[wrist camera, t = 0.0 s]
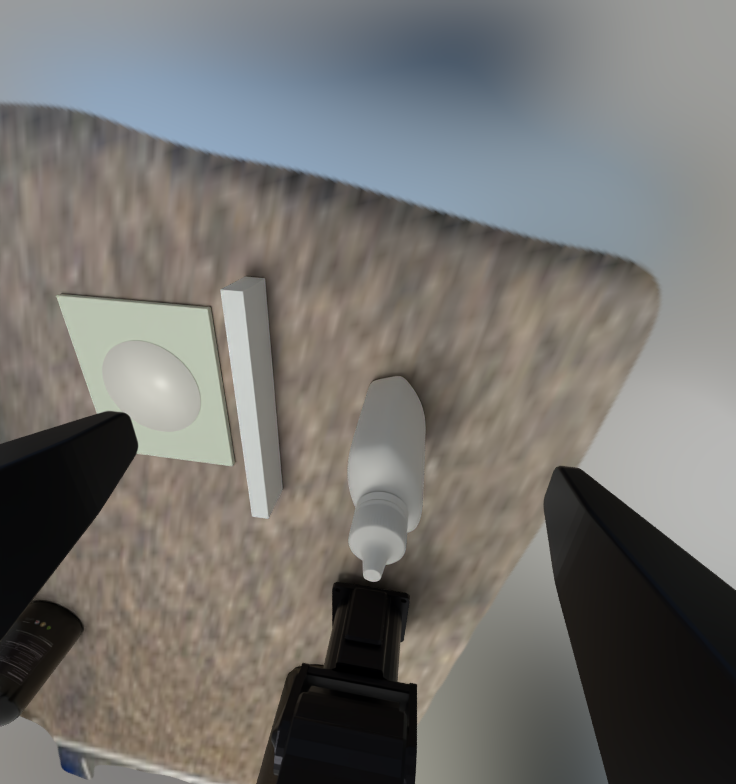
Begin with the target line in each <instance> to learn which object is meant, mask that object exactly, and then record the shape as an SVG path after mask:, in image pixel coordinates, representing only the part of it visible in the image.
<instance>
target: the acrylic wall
mask: <svg viewBox="0 0 736 784" xmlns="http://www.w3.org/2000/svg"><path fill="white" fill-rule="evenodd" d="M220 291H221V298H222V305H223V312H224V319H225V326H226V333H227V340H228V348H229V355H230V362H231V369H232V376H233V383H234V390H235V397H236V405H237V412H238V419H239V426H240V433H241V440H242V447H243V454H244V462H245V469H246V476H247V483H248V490H249V497H250V504H251V511H252V516H253V517H259V518H266V519H269V517H270V515H271V513H272V511H273V509H274V507H275V505H276V502H277V500H278V498H279V496H280V494H281V492H282V490H283V485H282V473H281V462H280V450H279V438H278V426H277V414H276V402H275V390H274V378H273V367H272V355H271V343H270V331H269V319H268V307H267V295H266V283H265V278H257V277H243V278H241V279H240V280H238V281H236V282H234V283H232V284H230V285H228V286H226V287H224V288H223V289H221V290H220Z"/></svg>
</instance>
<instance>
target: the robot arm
mask: <svg viewBox="0 0 736 784" xmlns="http://www.w3.org/2000/svg"><path fill="white" fill-rule="evenodd" d="M137 451H138V440H137V437H136V434H135V430H134V427H133V424H132V420H131V418H130V416H129V415H128V414H126V413H124V412H116V411H105V412H101V413H98V414H95V415H92V416H89V417H85V418H82V419H79V420H76V421H73V422H69V423H66V424H63V425H60V426H56V427H53V428H50V429H47V430H44V431H40V432H37V433H34V434H31V435H28V436H24V437H21V438H18V439H15V440H12V441H8V442H5V443H2V444H0V641H1V640H2V639H3V638H4V636H5V635H6V634H7V632H8V631H9V630H10V628H11V627H12V626H13V625H14V623H15V622H16V621H17V619H18V618H19V617H20V615H21V614H22V613H23V612H24V610H25V609H26V608H27V606H28V605H29V604H30V602H31V601H32V600H33V599H34V597H35V596H36V595H37V593H38V592H39V591H40V589H41V588H42V587H43V586H44V584H45V583H46V582H47V580H48V579H49V578H50V576H51V575H52V574H53V573H54V571H55V570H56V569H57V567H58V566H59V565H60V563H61V562H62V561H63V560H64V558H65V557H66V556H67V554H68V553H69V552H70V550H71V549H72V548H73V547H74V545H75V544H76V543H77V541H78V540H79V539H80V537H81V536H82V535H83V534H84V532H85V531H86V530H87V528H88V527H89V526H90V524H91V523H92V522H93V520H94V519H95V518H96V516H97V515H98V514H99V512H100V511H101V509H102V508H103V506H104V505H105V503H106V502H107V500H108V498H109V497H110V495H111V494H112V492H113V490H114V489H115V487H116V486H117V484H118V483H119V481H120V479H121V478H122V476H123V475H124V473H125V471H126V470H127V468H128V467H129V465H130V463H131V462H132V460H133V459H134V457H135V456H136V454H137ZM544 514H545V520H546V527H547V534H548V540H549V547H550V554H551V561H552V568H553V573H554V580H555V585H556V589H557V593H558V597H559V601H560V604H561V608H562V612H563V616H564V619H565V623H566V627H567V630H568V634H569V638H570V642H571V645H572V649H573V653H574V657H575V660H576V664H577V668H578V671H579V675H580V679H581V683H582V686H583V690H584V694H585V698H586V701H587V705H588V709H589V713H590V716H591V720H592V724H593V727H594V731H595V735H596V739H597V742H598V746H599V750H600V754H601V757H602V761H603V765H604V768H605V772H606V776H607V780H608V783H609V784H736V590H735V589H733V588H732V587H731V586H729V585H728V584H727V583H725V582H724V581H723V580H722V579H721V578H719V577H718V576H717V575H716V574H714V573H713V572H712V571H710V570H709V569H708V568H707V567H705V566H704V565H703V564H701V563H700V562H699V561H698V560H696V559H695V558H694V557H693V556H691V555H690V554H689V553H687V552H686V551H685V550H684V549H682V548H681V547H680V546H678V545H677V544H676V543H674V542H673V541H672V540H671V539H670V538H668V537H667V536H666V535H664V534H663V533H662V532H661V531H659V530H658V529H657V528H656V527H654V526H653V525H652V524H650V523H649V522H648V521H647V520H645V519H644V518H643V517H641V516H640V515H639V514H638V513H636V512H635V511H634V510H632V509H631V508H630V507H628V506H627V505H626V504H625V503H624V502H622V501H621V500H620V499H618V498H617V497H616V496H615V495H613V494H612V493H611V492H609V491H608V490H607V489H606V488H604V487H603V486H602V485H601V484H599V483H598V482H597V481H595V480H594V479H593V478H592V477H590V476H589V475H588V474H586V473H585V472H584V471H583V470H581V469H579V468H575V467H566V466H558V467H556V468H555V470H554V471H553V474H552V477H551V480H550V483H549V486H548V488H547V491H546V494H545V497H544ZM409 602H410V596H409V595H408V594H407V593H403V592H397V591H391V590H384V589H378V588H372V587H366V586H360V585H354V584H347V583H341V582H335V583H334V585H333V588H332V632H331V637H330V641H329V646H328V650H327V655H326V659H325V663H324V668H320V667H315V666H310V664H307V663H302V666H301V669H300V672H299V673H297V674H295V676H294V680H293V683H292V687H291V690H290V694H289V697H288V699H287V702H286V704H285V706H284V708H283V710H282V713H281V715H280V717H279V719H278V721H277V723H276V725H275V727H274V730H273V732H272V737H271V741H272V744H273V746H274V749H275V752H274V768H273V770H274V775H278V778H277V782H276V784H415V774H416V755H417V684H414V683H410V684H406V683H400V682H397V680H398V667H399V653H400V642H402V641H403V640H404V635H405V629H406V622H407V615H408V609H409Z"/></svg>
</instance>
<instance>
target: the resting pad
mask: <svg viewBox="0 0 736 784" xmlns="http://www.w3.org/2000/svg"><path fill="white" fill-rule="evenodd" d="M56 296H57V299H58V302H59V305H60V308H61V311H62V314H63V317H64V320H65V323H66V325H67V328H68V331H69V334H70V337H71V340H72V343H73V346H74V349H75V352H76V354H77V357H78V360H79V363H80V366H81V369H82V372H83V375H84V378H85V381H86V383H87V386H88V389H89V392H90V395H91V398H92V401H93V404H94V407H95V409H96V412H97V414H98V413H101V412H105V411H116V412H124V413H126V414H128V415H129V416H130V418H131V420H132V424H133V427H134V430H135V434H136V437H137V440H138V451H137V454H144V455H152V456H159V457H167V458H174V459H182V460H189V461H196V462H204V463H211V464H219V465H226V466H233V465H234V464H235V460H234V453H233V447H232V440H231V434H230V427H229V421H228V415H227V408H226V402H225V395H224V389H223V382H222V376H221V370H220V363H219V357H218V350H217V344H216V337H215V331H214V325H213V318H212V312H211V307H203V306H192V305H181V304H170V303H158V302H147V301H136V300H124V299H113V298H102V297H91V296H79V295H68V294H60V295H56Z"/></svg>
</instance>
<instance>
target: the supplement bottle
mask: <svg viewBox="0 0 736 784" xmlns="http://www.w3.org/2000/svg"><path fill="white" fill-rule="evenodd" d="M81 632H82V627H81V624H80V622H79V620H78V619H77V618H76V617H75V616H74V615H73V614H72V613H70V612H69V611H68V610H66V609H64V608H62V607H60V606H58V605H55V604H52V603H48V602H35V603H31V604H29V605H28V606H27V608H26V609H25V610H24V612H23V613H22V614H21V615H20V617H19V618H18V619H17V621H16V622H15V623H14V625H13V626H12V627H11V628H10V630H9V631H8V632H7V634H6V635H5V636H4V638H3V639H2V640H1V641H0V726H4V725H6V724H9V723H11V722H12V721H14V720H15V719H16V718H18V717H19V716H20V714H21V713H22V712H23V711H24V709H25V708H26V707H27V706H28V704H29V703H30V702H31V700H32V699H33V698H34V696H35V695H36V694H37V692H38V691H39V690H40V688H41V687H42V686H43V685H44V683H45V682H46V681H47V679H48V678H49V677H50V675H51V674H52V673H53V671H54V670H55V669H56V667H57V666H58V665H59V664H60V662H61V661H62V660H63V658H64V657H65V656H66V654H67V653H68V652H69V650H70V649H71V648H72V646H73V645H74V644H75V642H76V641H77V640H78V638H79V637H80V635H81Z"/></svg>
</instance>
